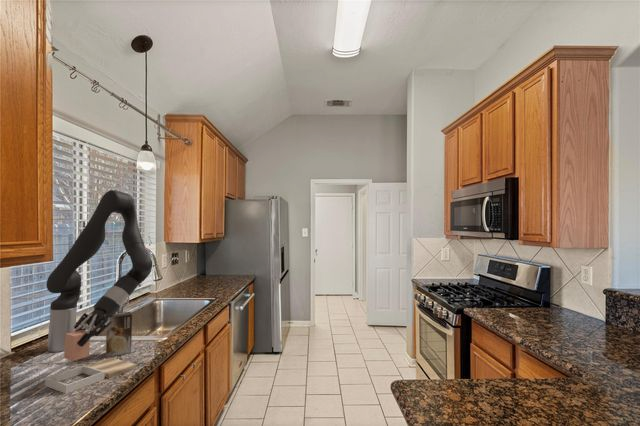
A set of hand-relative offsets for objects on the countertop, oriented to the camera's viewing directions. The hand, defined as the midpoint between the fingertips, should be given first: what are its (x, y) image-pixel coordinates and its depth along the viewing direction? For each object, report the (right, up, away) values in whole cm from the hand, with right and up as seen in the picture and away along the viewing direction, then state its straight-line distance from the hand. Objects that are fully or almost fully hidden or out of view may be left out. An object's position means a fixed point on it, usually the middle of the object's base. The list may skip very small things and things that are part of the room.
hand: (74, 343), depth 114 cm
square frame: (0, -13, 0) cm, 13 cm away
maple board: (+6, -14, +11) cm, 18 cm away
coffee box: (-2, -15, +28) cm, 31 cm away
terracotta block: (0, -5, +1) cm, 5 cm away
